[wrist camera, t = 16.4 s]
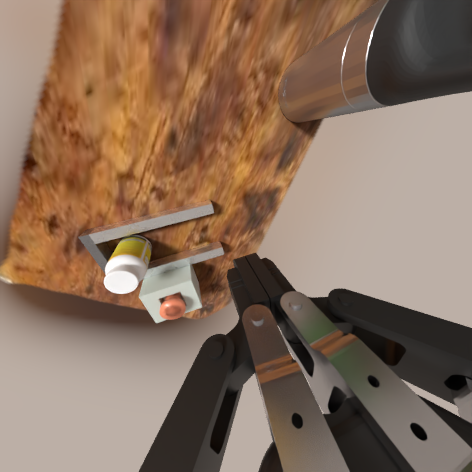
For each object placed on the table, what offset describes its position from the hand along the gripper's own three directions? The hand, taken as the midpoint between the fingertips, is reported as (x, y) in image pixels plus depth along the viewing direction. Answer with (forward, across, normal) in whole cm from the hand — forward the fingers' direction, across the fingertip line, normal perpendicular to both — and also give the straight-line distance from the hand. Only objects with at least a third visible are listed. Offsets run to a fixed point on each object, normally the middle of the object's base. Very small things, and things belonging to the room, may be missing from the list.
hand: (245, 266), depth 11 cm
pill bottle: (+27, +16, +10) cm, 33 cm away
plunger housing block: (+27, +12, +20) cm, 36 cm away
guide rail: (+27, +10, +10) cm, 30 cm away
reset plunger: (+20, +12, +20) cm, 31 cm away
